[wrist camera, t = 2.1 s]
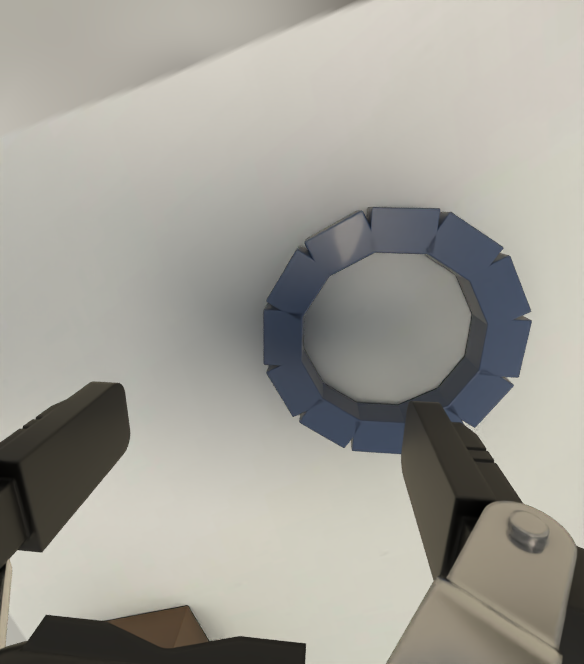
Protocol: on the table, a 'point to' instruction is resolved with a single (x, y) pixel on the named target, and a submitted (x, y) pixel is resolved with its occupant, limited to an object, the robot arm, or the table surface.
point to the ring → (410, 238)
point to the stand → (164, 627)
